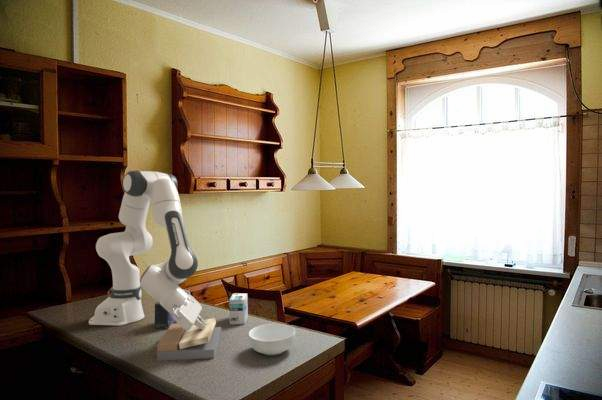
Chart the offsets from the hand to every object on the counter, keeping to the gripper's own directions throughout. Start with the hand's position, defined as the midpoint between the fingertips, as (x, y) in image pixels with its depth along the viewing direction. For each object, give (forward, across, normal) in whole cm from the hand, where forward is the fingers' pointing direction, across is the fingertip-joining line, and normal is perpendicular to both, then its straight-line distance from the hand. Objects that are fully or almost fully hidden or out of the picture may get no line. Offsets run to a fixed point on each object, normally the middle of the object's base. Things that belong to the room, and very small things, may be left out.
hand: (204, 327), depth 147 cm
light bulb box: (+13, +27, -2) cm, 30 cm away
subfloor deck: (+1, 0, +8) cm, 9 cm away
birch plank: (+1, 0, +3) cm, 4 cm away
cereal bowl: (+23, -7, -12) cm, 27 cm away
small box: (-9, +25, +19) cm, 33 cm away
